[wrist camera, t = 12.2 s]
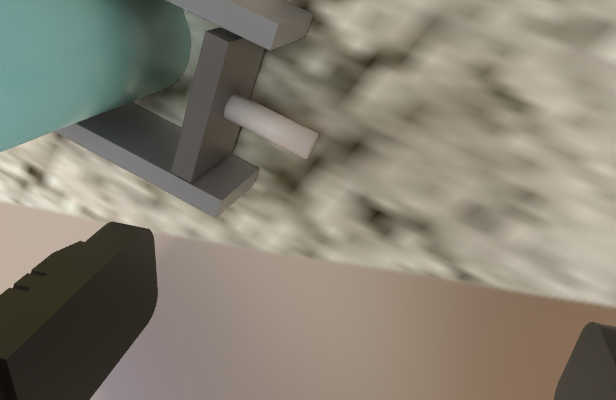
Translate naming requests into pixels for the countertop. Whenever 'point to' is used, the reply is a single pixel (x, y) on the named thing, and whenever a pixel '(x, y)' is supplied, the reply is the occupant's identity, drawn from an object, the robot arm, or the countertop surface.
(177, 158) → the pusher
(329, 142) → the countertop surface
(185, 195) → the lane
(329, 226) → the countertop surface
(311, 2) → the countertop surface
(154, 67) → the teal rounded cylinder
